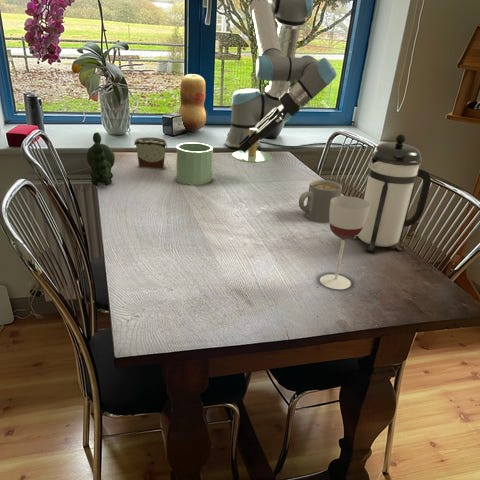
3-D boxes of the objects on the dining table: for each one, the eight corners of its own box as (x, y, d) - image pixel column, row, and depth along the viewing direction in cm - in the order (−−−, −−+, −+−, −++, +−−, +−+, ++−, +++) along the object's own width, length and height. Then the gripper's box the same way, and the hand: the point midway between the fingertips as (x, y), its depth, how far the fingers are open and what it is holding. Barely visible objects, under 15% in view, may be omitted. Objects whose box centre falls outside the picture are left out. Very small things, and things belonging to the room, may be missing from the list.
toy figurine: (116, 196, 166) (115, 167, 185) (112, 139, 154) (111, 114, 173) (87, 196, 164) (89, 167, 183) (80, 138, 152) (83, 113, 171)
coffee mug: (330, 210, 162) (335, 180, 157) (341, 222, 154) (347, 190, 149) (291, 210, 160) (295, 179, 154) (300, 222, 152) (304, 190, 146)
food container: (170, 165, 193) (170, 138, 188) (167, 169, 188) (166, 142, 183) (139, 162, 194) (138, 135, 188) (135, 166, 189) (133, 139, 183)
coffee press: (397, 261, 133) (428, 146, 116) (342, 245, 139) (363, 134, 123) (415, 240, 145) (445, 134, 129) (363, 226, 152) (385, 123, 136)
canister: (200, 172, 187) (201, 141, 181) (218, 182, 179) (219, 150, 173) (170, 177, 181) (170, 144, 175) (187, 187, 173) (187, 153, 166)
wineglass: (314, 273, 124) (327, 195, 113) (348, 274, 125) (364, 196, 114) (321, 289, 117) (335, 208, 106) (357, 290, 118) (375, 209, 107)
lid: (255, 152, 185) (258, 123, 179) (278, 162, 175) (282, 132, 170) (224, 155, 178) (226, 126, 172) (247, 166, 169) (249, 135, 163)
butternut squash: (188, 135, 235) (189, 77, 221) (172, 129, 243) (171, 73, 229) (211, 132, 243) (213, 76, 229) (195, 127, 251) (195, 72, 237)
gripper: (304, 113, 161) (249, 162, 169) (297, 104, 175) (247, 149, 183) (290, 95, 158) (235, 145, 166) (284, 86, 171) (233, 134, 179)
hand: (241, 147), depth 174 cm, fingers closed on lid, 3 cm apart
